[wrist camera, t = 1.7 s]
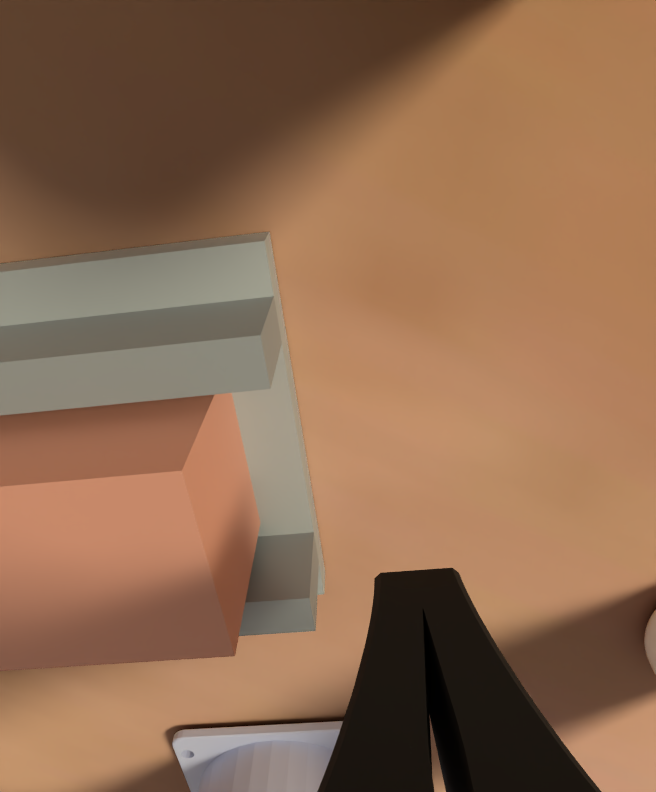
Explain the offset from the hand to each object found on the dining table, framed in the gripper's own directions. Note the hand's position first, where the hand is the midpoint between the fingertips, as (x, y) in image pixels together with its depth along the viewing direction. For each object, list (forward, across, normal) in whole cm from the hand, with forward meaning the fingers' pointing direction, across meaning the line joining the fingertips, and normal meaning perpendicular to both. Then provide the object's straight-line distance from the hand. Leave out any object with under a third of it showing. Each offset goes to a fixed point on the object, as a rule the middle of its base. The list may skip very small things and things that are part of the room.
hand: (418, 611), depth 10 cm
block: (+6, +7, 0) cm, 9 cm away
